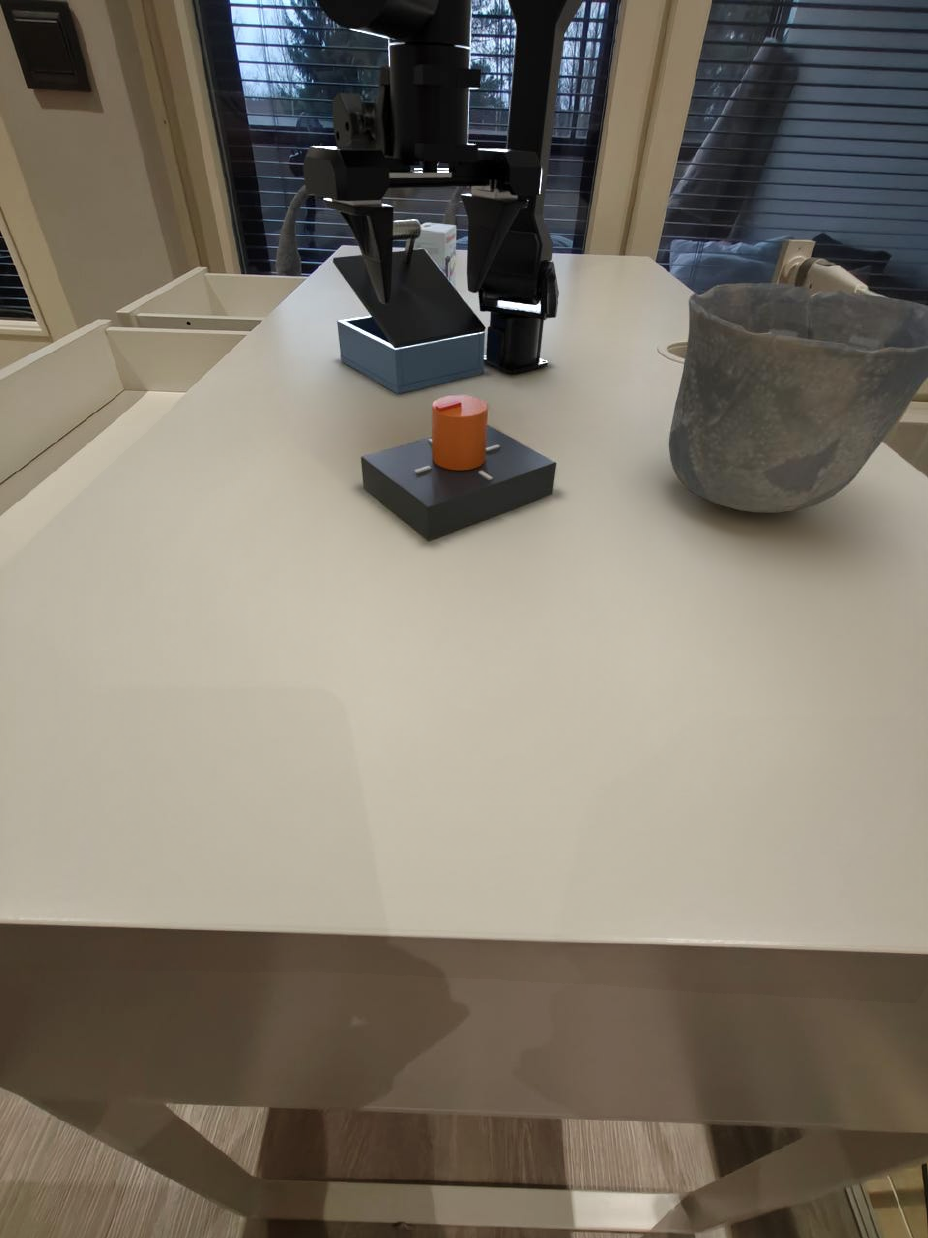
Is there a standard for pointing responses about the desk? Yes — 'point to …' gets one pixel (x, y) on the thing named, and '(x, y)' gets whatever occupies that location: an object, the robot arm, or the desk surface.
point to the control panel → (456, 483)
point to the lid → (412, 295)
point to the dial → (459, 432)
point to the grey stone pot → (790, 391)
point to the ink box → (440, 247)
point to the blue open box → (408, 356)
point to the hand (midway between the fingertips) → (430, 297)
